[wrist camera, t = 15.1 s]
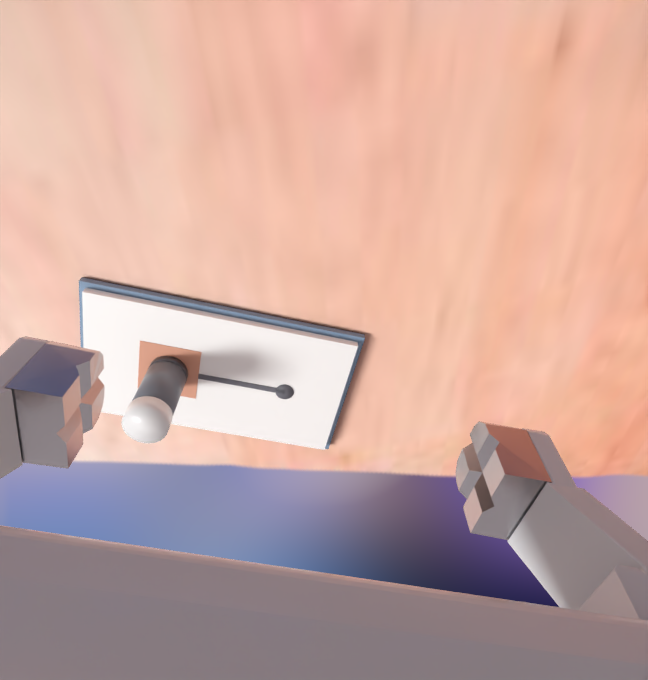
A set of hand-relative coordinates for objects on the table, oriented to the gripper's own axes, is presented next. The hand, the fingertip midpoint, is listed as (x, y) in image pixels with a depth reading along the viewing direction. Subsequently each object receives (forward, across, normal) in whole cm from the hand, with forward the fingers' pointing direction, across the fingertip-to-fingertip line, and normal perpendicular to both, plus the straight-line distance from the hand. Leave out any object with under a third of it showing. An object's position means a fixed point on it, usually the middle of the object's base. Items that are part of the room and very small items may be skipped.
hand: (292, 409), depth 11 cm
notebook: (+27, +5, +20) cm, 34 cm away
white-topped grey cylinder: (+26, +9, +20) cm, 34 cm away
